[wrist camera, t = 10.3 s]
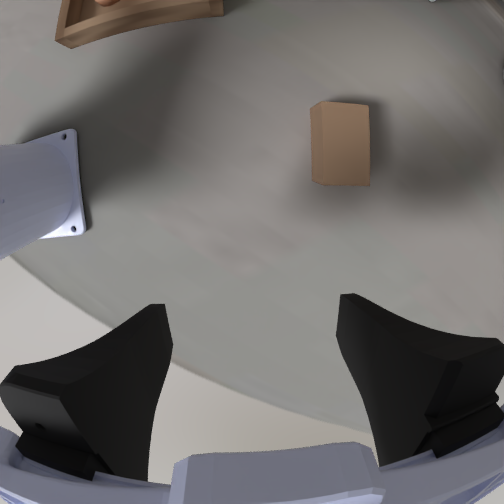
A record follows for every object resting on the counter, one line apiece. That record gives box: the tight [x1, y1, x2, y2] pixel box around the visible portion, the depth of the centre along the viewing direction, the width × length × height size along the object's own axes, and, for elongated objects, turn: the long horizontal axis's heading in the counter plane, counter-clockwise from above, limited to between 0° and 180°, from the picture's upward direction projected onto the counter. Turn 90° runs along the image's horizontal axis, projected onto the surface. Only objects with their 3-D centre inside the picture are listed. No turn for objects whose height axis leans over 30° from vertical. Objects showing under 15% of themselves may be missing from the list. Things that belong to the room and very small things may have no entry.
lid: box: [310, 101, 370, 186], centre depth 17 cm, size 13×15×4 cm
